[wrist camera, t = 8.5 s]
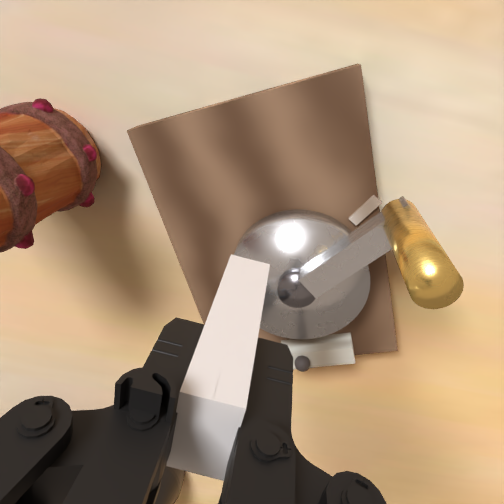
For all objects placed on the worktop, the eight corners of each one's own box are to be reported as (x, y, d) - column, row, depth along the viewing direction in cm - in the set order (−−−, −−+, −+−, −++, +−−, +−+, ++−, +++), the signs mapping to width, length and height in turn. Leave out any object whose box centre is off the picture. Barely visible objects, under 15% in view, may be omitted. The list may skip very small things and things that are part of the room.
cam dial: (291, 343, 35) (283, 454, 25) (206, 262, 32) (161, 353, 23) (449, 247, 29) (519, 348, 19) (361, 136, 26) (390, 188, 16)
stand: (225, 354, 40) (215, 391, 36) (137, 126, 30) (107, 139, 26) (395, 335, 36) (407, 375, 32) (360, 63, 26) (370, 65, 21)
